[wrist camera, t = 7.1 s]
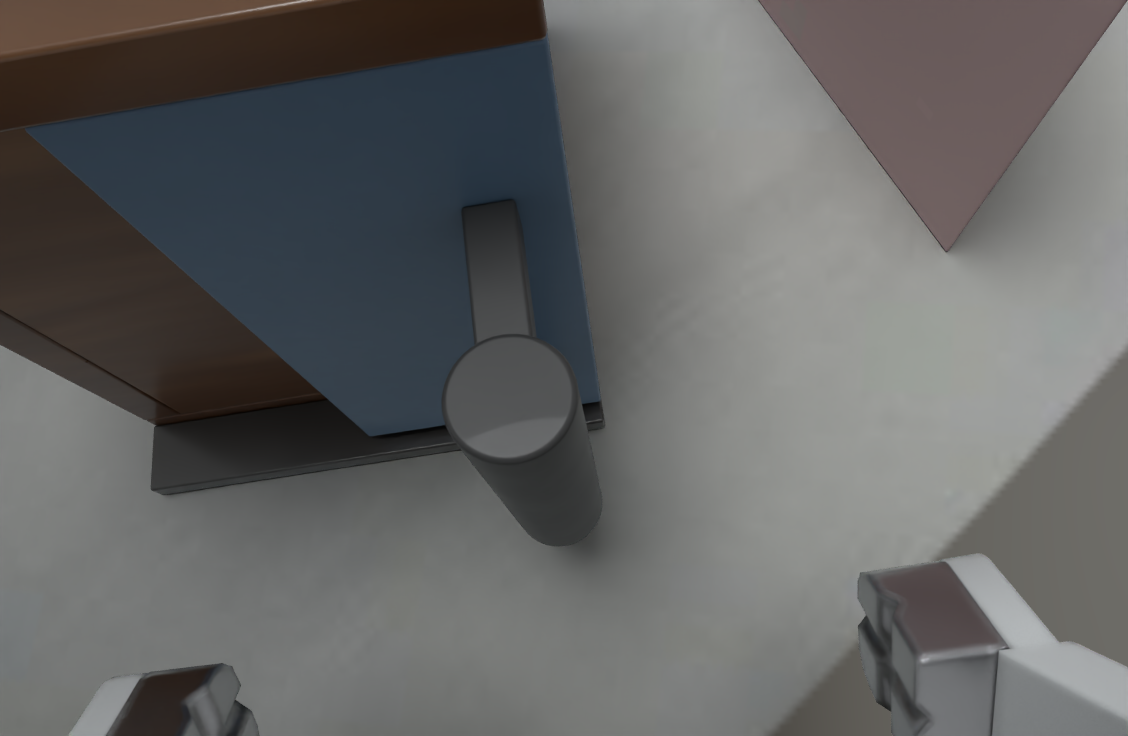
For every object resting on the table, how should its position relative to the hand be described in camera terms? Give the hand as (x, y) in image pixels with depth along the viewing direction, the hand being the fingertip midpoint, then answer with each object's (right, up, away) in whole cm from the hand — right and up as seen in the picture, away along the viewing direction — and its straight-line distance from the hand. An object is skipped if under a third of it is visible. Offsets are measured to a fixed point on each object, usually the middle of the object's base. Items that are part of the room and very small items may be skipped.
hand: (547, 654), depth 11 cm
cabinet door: (-2, +1, +10) cm, 10 cm away
